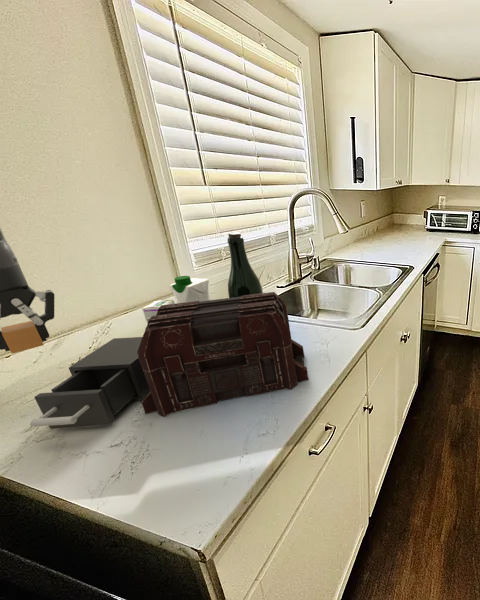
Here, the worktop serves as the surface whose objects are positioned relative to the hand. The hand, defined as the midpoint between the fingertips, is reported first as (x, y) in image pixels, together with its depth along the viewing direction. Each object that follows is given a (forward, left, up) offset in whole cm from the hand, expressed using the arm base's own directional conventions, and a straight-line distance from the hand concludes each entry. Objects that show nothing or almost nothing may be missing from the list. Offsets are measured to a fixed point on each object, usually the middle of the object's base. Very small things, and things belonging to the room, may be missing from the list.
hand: (26, 344), depth 68 cm
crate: (+37, +7, -16) cm, 41 cm away
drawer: (+12, -4, -15) cm, 20 cm away
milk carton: (+16, +36, -17) cm, 42 cm away
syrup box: (+11, +27, -17) cm, 33 cm away
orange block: (0, 0, 0) cm, 0 cm away
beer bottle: (+33, +34, -17) cm, 50 cm away
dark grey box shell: (+12, +8, -16) cm, 21 cm away
